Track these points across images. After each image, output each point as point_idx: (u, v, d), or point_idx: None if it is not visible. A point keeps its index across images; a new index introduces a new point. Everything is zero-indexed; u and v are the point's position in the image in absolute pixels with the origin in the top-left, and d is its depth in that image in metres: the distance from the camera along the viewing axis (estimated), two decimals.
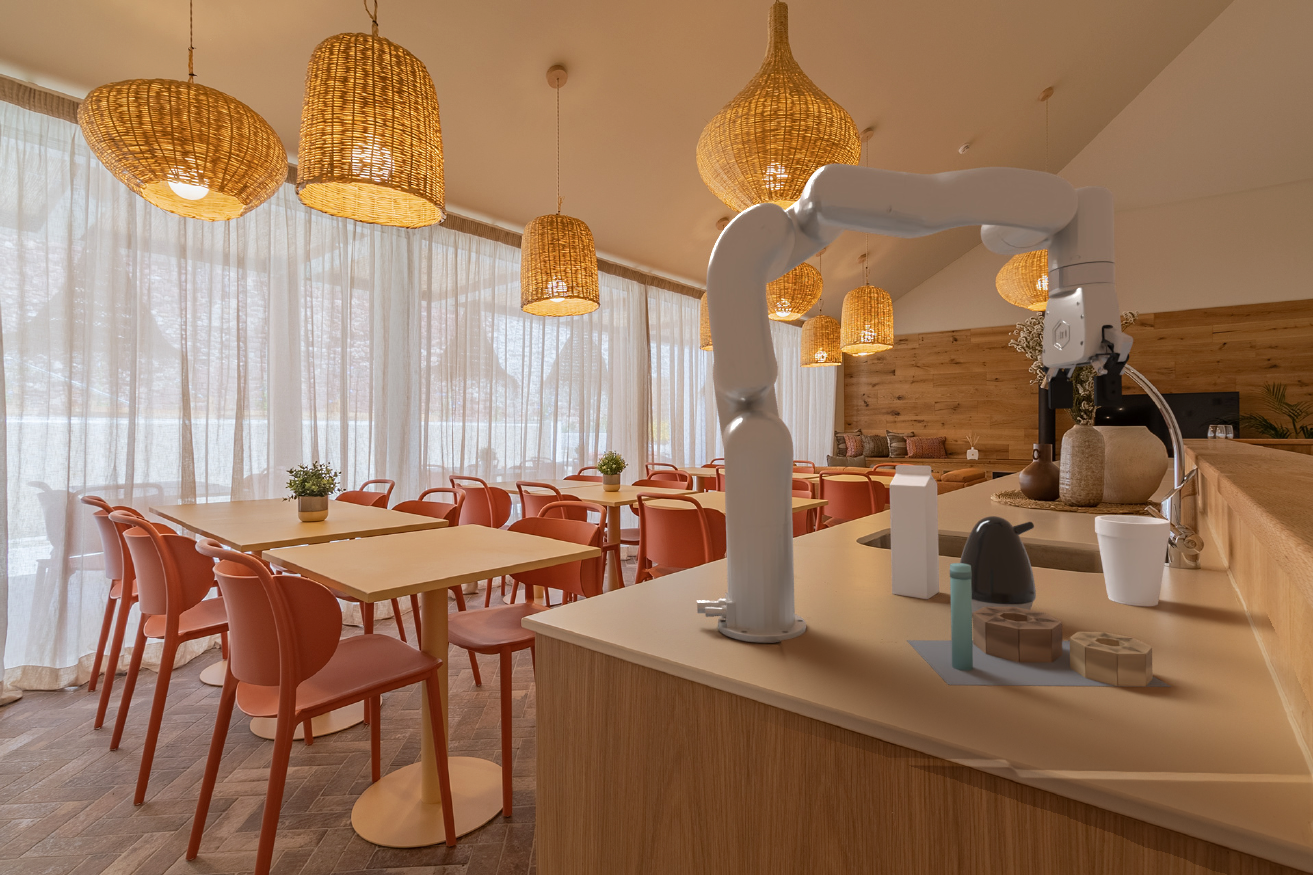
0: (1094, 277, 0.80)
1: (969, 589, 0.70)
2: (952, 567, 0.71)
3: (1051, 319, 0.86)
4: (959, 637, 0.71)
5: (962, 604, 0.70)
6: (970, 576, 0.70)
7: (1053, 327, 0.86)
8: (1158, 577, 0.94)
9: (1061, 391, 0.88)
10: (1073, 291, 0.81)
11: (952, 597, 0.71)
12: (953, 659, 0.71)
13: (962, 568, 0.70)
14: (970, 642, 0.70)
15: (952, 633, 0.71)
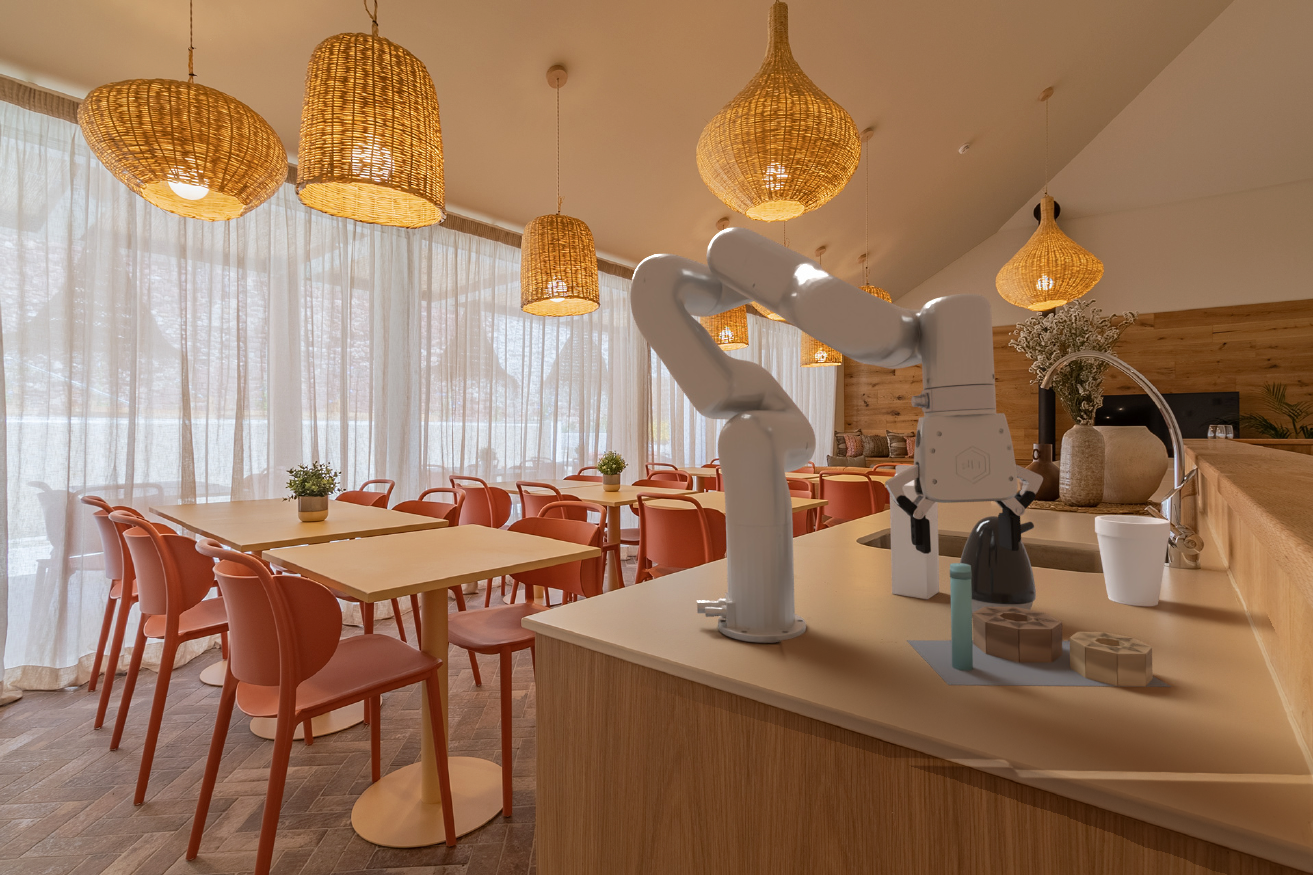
0: None
1: (969, 589, 0.70)
2: (952, 567, 0.71)
3: (951, 443, 0.68)
4: (959, 637, 0.71)
5: (962, 604, 0.70)
6: (970, 576, 0.70)
7: (955, 453, 0.68)
8: (1158, 577, 0.94)
9: None
10: (990, 415, 0.68)
11: (952, 597, 0.71)
12: (953, 659, 0.71)
13: (962, 568, 0.70)
14: (970, 642, 0.70)
15: (952, 633, 0.71)
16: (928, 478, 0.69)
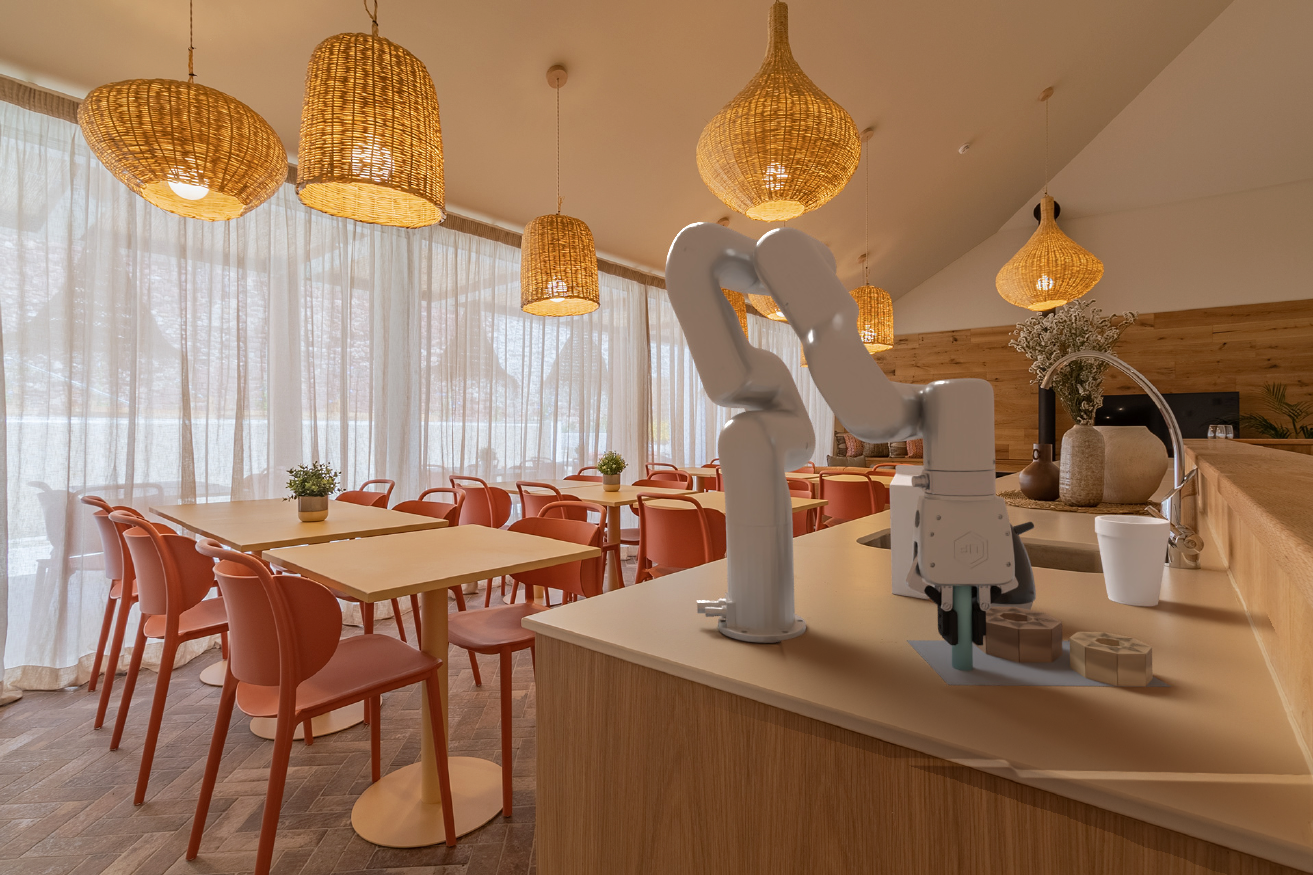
0: None
1: (969, 589, 0.70)
2: None
3: (949, 527, 0.69)
4: (959, 637, 0.71)
5: (962, 604, 0.70)
6: None
7: (954, 538, 0.69)
8: (1158, 577, 0.94)
9: None
10: (990, 500, 0.69)
11: (952, 597, 0.71)
12: (953, 659, 0.71)
13: None
14: (970, 642, 0.70)
15: None
16: (926, 561, 0.69)
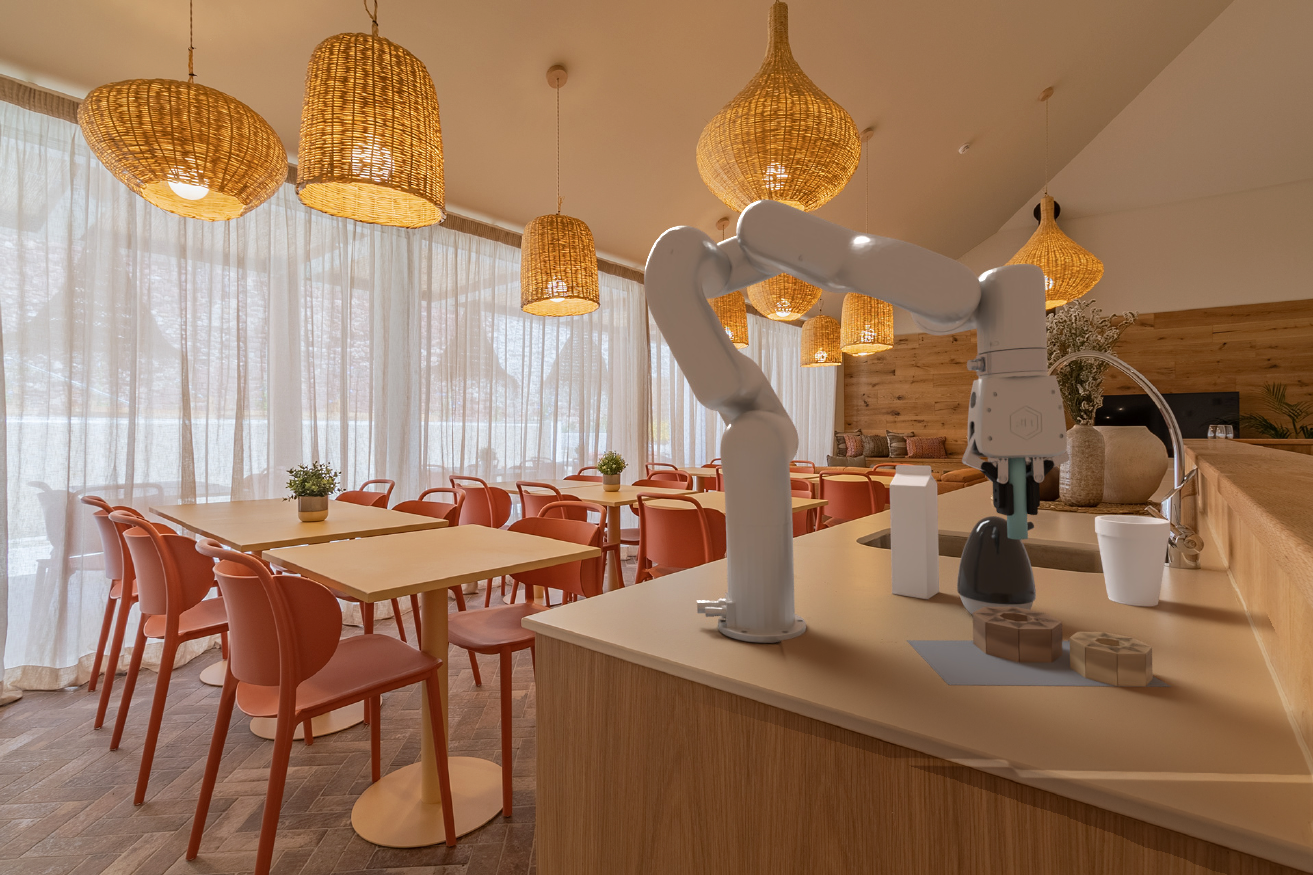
0: None
1: (1024, 463, 0.75)
2: None
3: (1005, 402, 0.74)
4: (1015, 508, 0.76)
5: (1017, 477, 0.75)
6: None
7: (1010, 412, 0.74)
8: (1158, 577, 0.94)
9: None
10: (1043, 377, 0.74)
11: None
12: (1009, 530, 0.76)
13: None
14: (1025, 513, 0.75)
15: None
16: (984, 435, 0.74)
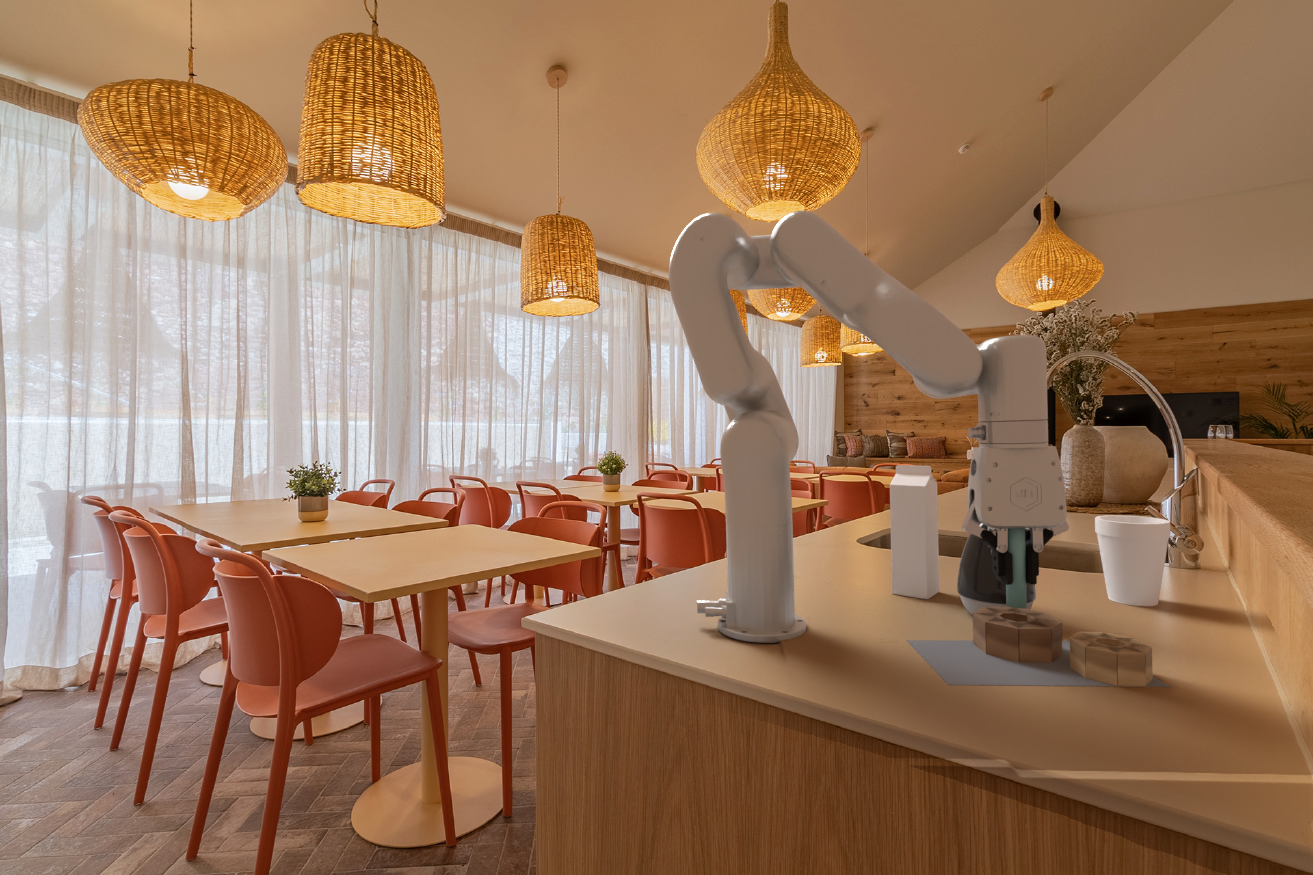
0: None
1: (1023, 532, 0.76)
2: None
3: (1006, 473, 0.74)
4: (1014, 577, 0.76)
5: (1017, 546, 0.76)
6: None
7: (1010, 483, 0.74)
8: (1158, 577, 0.94)
9: None
10: (1043, 448, 0.74)
11: None
12: (1008, 598, 0.76)
13: None
14: (1024, 582, 0.76)
15: None
16: (984, 505, 0.74)
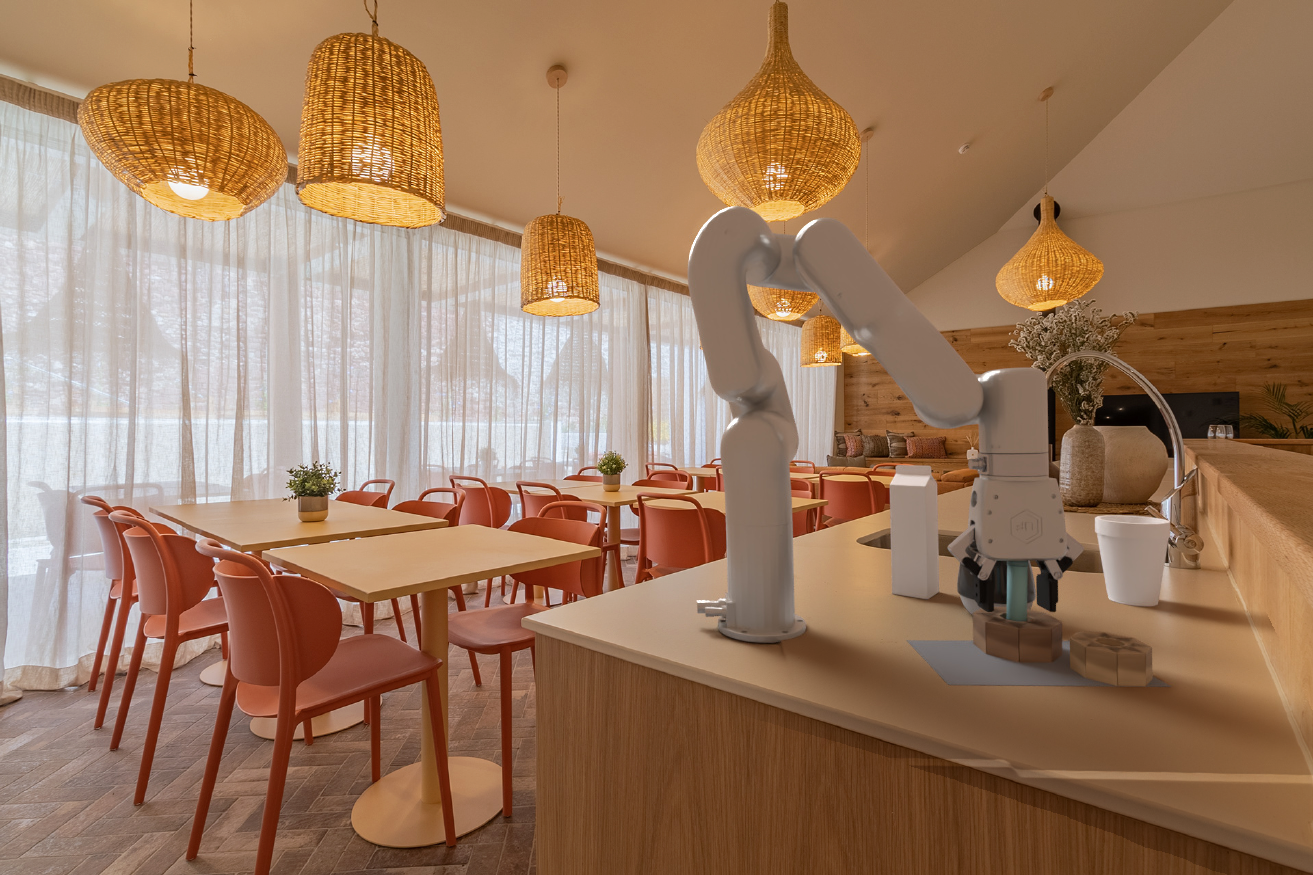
0: None
1: (1026, 576, 0.76)
2: None
3: (1006, 506, 0.74)
4: (1015, 620, 0.76)
5: (1019, 590, 0.76)
6: (1027, 564, 0.76)
7: (1010, 516, 0.74)
8: (1158, 577, 0.94)
9: None
10: (1044, 481, 0.74)
11: (1009, 583, 0.76)
12: None
13: None
14: None
15: (1008, 617, 0.77)
16: (984, 537, 0.74)
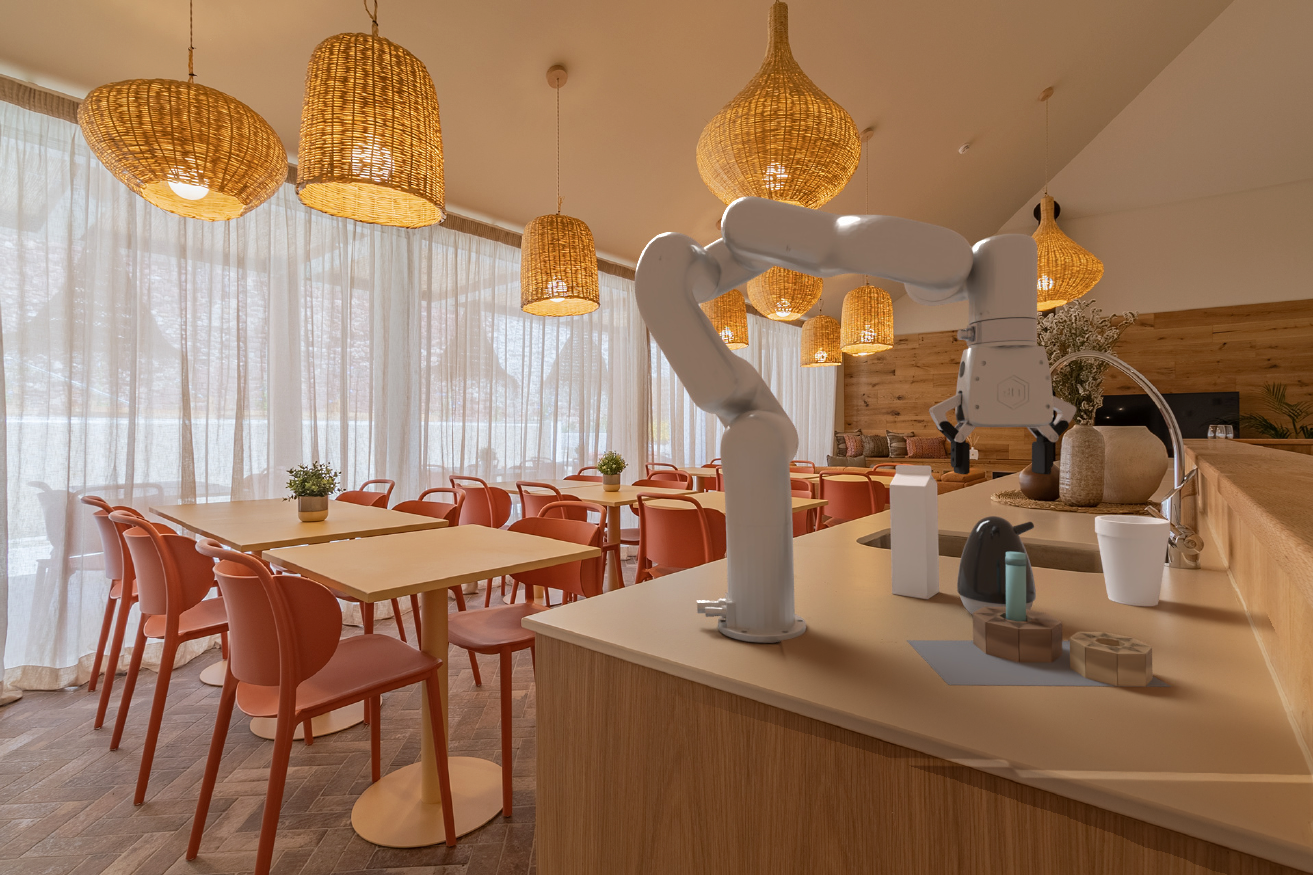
0: None
1: (1024, 575, 0.76)
2: (1008, 554, 0.77)
3: (994, 372, 0.74)
4: (1014, 620, 0.76)
5: (1017, 589, 0.76)
6: (1025, 563, 0.76)
7: (997, 382, 0.74)
8: (1158, 577, 0.94)
9: None
10: (1032, 347, 0.74)
11: (1008, 582, 0.77)
12: None
13: (1018, 555, 0.76)
14: None
15: (1007, 616, 0.77)
16: (971, 404, 0.75)
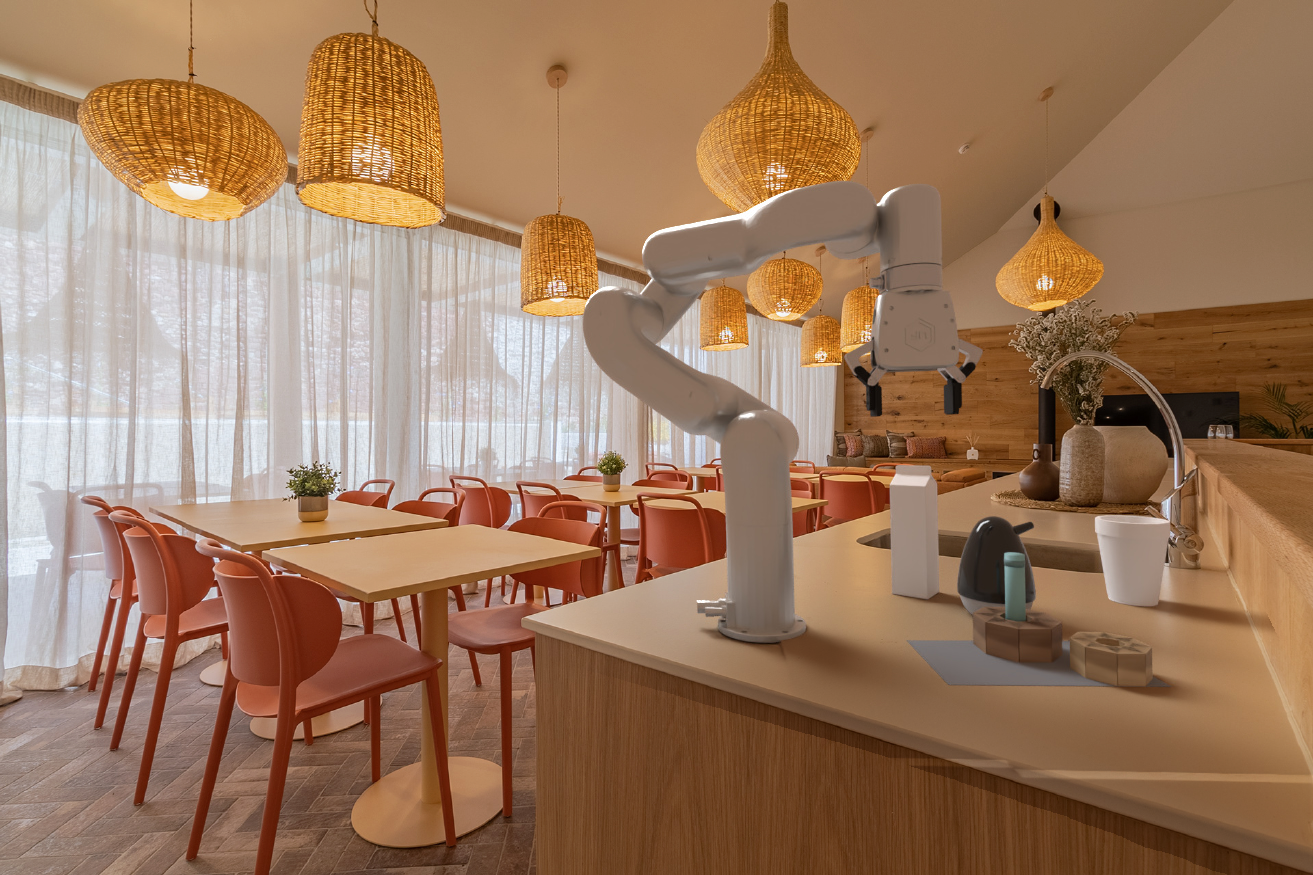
0: None
1: (1023, 576, 0.75)
2: (1006, 556, 0.76)
3: (901, 316, 0.77)
4: None
5: (1016, 590, 0.75)
6: (1024, 564, 0.75)
7: (905, 325, 0.77)
8: (1158, 577, 0.94)
9: None
10: (937, 292, 0.77)
11: (1006, 584, 0.76)
12: None
13: (1016, 557, 0.75)
14: None
15: (1006, 617, 0.77)
16: (881, 347, 0.78)
